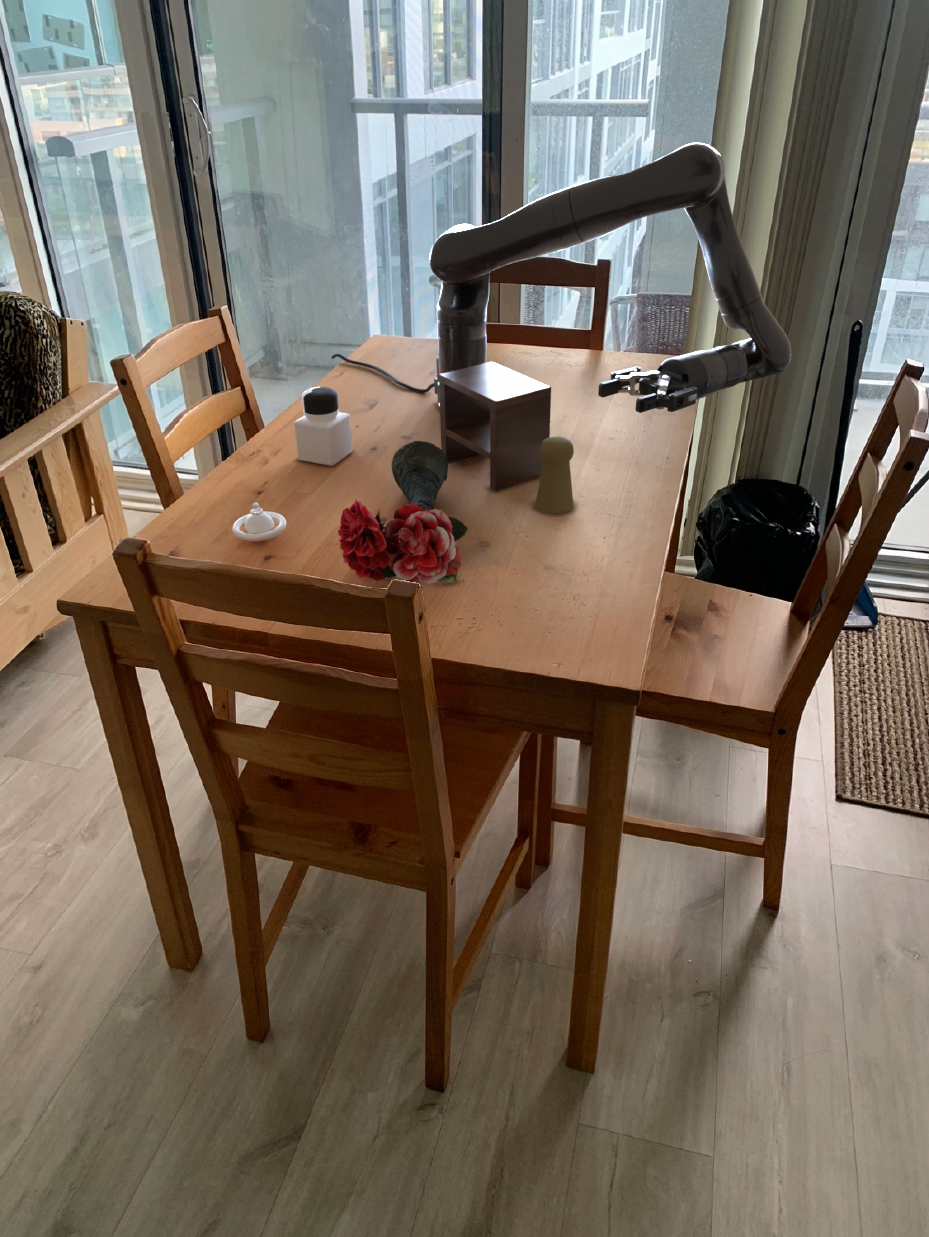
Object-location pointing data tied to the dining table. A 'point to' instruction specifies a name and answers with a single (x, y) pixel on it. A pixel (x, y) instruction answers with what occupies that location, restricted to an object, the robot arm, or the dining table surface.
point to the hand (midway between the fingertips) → (618, 398)
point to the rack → (495, 420)
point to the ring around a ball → (259, 525)
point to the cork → (555, 476)
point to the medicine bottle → (322, 428)
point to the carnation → (406, 525)
